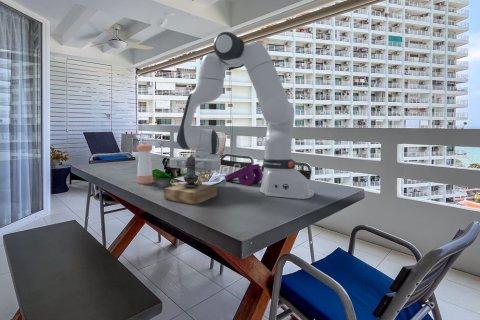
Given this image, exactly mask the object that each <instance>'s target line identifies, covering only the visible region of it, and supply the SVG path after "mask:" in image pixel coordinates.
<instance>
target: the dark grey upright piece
mask: <svg viewBox="0 0 480 320" xmlns="http://www.w3.org/2000/svg"><path fill="white" fill-rule="evenodd" d="M190 155H191V156H190ZM190 155H189V156H187V157H188V158H187V166H186V167H187V168H186V174H185V175H182V177H183V180H184V183H187V184H185V185H184V186H186V187H196V186H198V185H197V184H195V183H197V182H198V179H199V176H200V175H197V174H196V173H197V172H196V171H195V158H194V157H193V156H192V153H190Z"/></svg>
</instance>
